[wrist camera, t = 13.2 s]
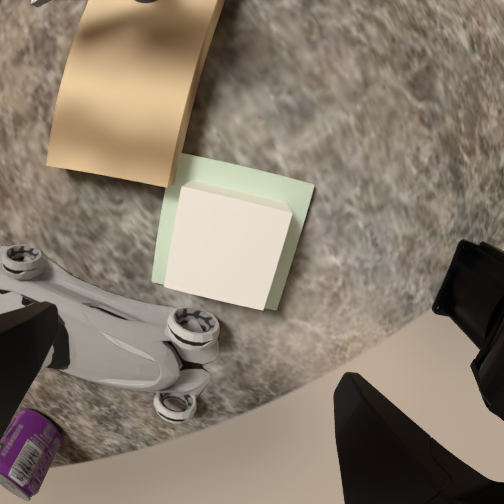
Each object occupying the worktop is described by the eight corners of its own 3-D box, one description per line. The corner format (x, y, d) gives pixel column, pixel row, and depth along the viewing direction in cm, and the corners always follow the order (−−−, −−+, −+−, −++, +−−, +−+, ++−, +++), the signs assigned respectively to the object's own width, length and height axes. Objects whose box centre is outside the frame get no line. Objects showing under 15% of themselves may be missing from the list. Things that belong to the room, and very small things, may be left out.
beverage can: (15, 397, 27) (-26, 458, 16) (55, 414, 28) (16, 485, 16) (32, 430, 30) (0, 486, 18) (70, 445, 30) (42, 510, 19)
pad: (276, 307, 22) (276, 310, 21) (153, 279, 21) (151, 281, 21) (313, 184, 19) (314, 185, 19) (174, 151, 18) (172, 151, 18)
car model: (202, 405, 26) (195, 446, 21) (-5, 321, 24) (-31, 345, 19) (233, 310, 22) (228, 352, 18) (-14, 225, 20) (-50, 242, 15)
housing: (175, 183, 19) (166, 187, 17) (62, 162, 18) (45, 165, 16) (236, -31, 14) (235, -46, 12) (119, -33, 13) (109, -45, 11)
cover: (261, 288, 21) (263, 310, 18) (175, 267, 20) (164, 286, 18) (286, 202, 19) (292, 213, 16) (192, 180, 18) (181, 186, 16)
